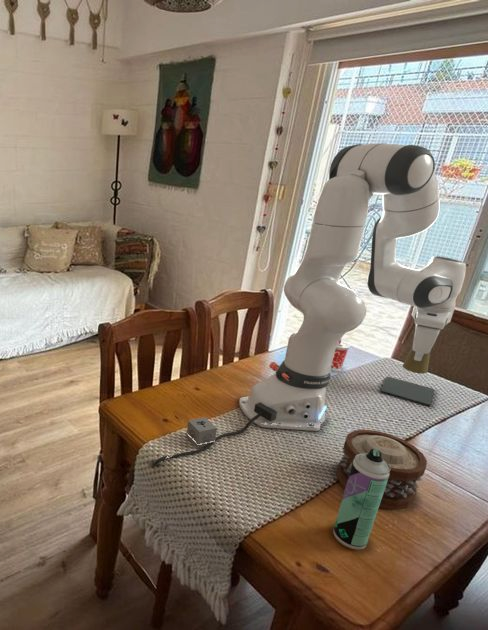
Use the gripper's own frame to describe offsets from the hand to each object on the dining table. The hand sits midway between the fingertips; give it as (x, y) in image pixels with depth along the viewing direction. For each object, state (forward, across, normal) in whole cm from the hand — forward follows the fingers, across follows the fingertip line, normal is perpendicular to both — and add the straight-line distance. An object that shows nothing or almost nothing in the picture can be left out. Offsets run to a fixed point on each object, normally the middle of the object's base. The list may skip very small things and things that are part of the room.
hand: (418, 356), depth 130 cm
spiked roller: (+12, +54, -2) cm, 55 cm away
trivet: (+12, 0, 0) cm, 12 cm away
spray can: (+12, +74, -3) cm, 75 cm away
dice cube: (+12, +64, -38) cm, 75 cm away
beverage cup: (+12, -2, -21) cm, 24 cm away
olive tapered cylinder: (+4, 0, 0) cm, 4 cm away
